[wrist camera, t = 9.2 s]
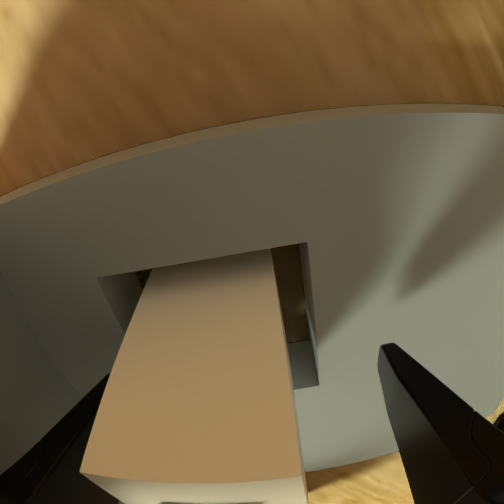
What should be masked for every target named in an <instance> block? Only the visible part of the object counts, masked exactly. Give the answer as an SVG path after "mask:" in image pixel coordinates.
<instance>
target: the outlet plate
mask: <svg viewBox="0 0 504 504" xmlns="http://www.w3.org/2000/svg"><path fill="white" fill-rule="evenodd" d="M298 243H299V249H300V257H301V265H302V274H303V282H304V291H305V301H306V310H307V320H308V330H309V340H306V341H301V342H295V343H289V344H287V347H288V354H289V361H290V368H291V375H292V382H293V389H294V396H295V403H296V410H297V417H298V425H299V432H300V440H301V447H302V455H303V462H304V470H305V472H311V471H317V470H322V469H328V468H333V467H338V466H343V465H347V464H352V463H356V462H360V461H364V460H368V459H372V458H376V457H380V456H383V455H387V454H390V453H394V452H397V451H399V449H398V446H397V443H396V439H395V436H394V433H393V430H392V427H391V424H390V421H389V418H388V415H387V410H386V406H385V401H384V396H383V391H382V387H381V382H380V378H379V373H378V368H377V362H378V355H379V348H380V346H381V345H382V344H386V343H391V342H393V343H396V344H397V345H398V346H399V347H400V348H402V349H403V350H404V351H405V352H407V353H408V354H409V355H410V356H411V357H413V358H414V359H415V360H416V361H417V362H419V363H420V364H421V365H422V366H423V367H425V368H426V369H427V370H428V371H429V372H431V373H432V374H433V375H434V376H435V377H437V378H438V379H439V380H440V381H441V382H443V383H444V384H445V385H446V386H447V387H449V388H450V389H451V390H452V391H453V392H454V393H456V394H457V395H458V396H459V397H460V398H462V399H463V400H464V401H465V402H466V403H467V404H469V405H470V406H471V407H472V408H473V409H474V411H477V412H478V413H479V414H481V415H482V416H483V417H484V418H485V417H487V416H489V415H491V414H493V413H494V412H495V410H496V409H497V407H498V406H499V404H500V402H501V401H502V399H503V398H504V106H491V105H474V104H440V103H424V104H388V105H370V106H356V107H344V108H333V109H323V110H315V111H306V112H299V113H291V114H284V115H277V116H271V117H265V118H259V119H253V120H247V121H242V122H237V123H231V124H226V125H221V126H217V127H212V128H207V129H203V130H198V131H194V132H190V133H185V134H181V135H177V136H173V137H169V138H165V139H161V140H158V141H154V142H150V143H147V144H143V145H139V146H136V147H133V148H129V149H126V150H122V151H119V152H116V153H113V154H110V155H106V156H103V157H100V158H97V159H94V160H91V161H88V162H85V163H82V164H80V165H77V166H74V167H71V168H68V169H66V170H63V171H60V172H58V173H55V174H52V175H50V176H47V177H45V178H42V179H40V180H37V181H35V182H32V183H30V184H27V185H25V186H23V187H20V188H18V189H16V190H13V191H11V192H9V193H7V194H4V195H2V196H0V475H1V474H2V473H3V472H5V471H6V470H7V469H8V468H9V467H11V466H12V465H13V464H14V463H15V462H17V461H18V460H19V459H20V458H21V457H22V456H24V455H25V454H26V453H27V452H28V451H29V450H30V449H31V448H32V447H33V446H34V445H35V444H36V443H37V442H38V441H40V439H41V438H42V437H43V436H44V435H45V434H46V433H47V432H48V431H49V430H50V429H51V428H52V427H53V426H55V425H56V424H57V423H58V422H59V421H60V420H61V419H62V418H63V417H64V416H65V415H66V414H67V413H68V412H69V411H70V410H71V409H72V408H73V407H74V406H75V405H76V404H77V403H78V402H79V401H80V400H81V399H82V398H83V397H84V396H85V395H86V394H87V393H88V392H89V391H90V390H91V389H92V388H93V387H94V386H95V385H97V384H98V383H99V382H100V381H101V380H102V379H103V378H104V377H105V376H106V375H107V374H108V373H111V371H112V368H113V365H114V363H115V360H116V357H117V355H118V352H119V349H120V347H121V344H122V341H123V339H124V336H125V334H126V331H127V329H128V326H129V324H130V321H131V319H132V316H133V314H134V311H135V309H136V306H137V304H138V301H139V299H140V297H141V294H142V292H143V289H142V287H141V285H140V282H139V280H138V277H137V275H136V272H135V271H140V270H146V269H152V268H158V267H164V266H169V265H175V264H181V263H187V262H193V261H199V260H204V259H210V258H216V257H222V256H228V255H234V254H240V253H245V252H251V251H257V250H263V249H269V248H275V247H281V246H286V245H292V244H298ZM119 504H125V503H123V502H122V501H120V500H119Z"/></svg>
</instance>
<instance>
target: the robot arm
mask: <svg viewBox="0 0 504 504" xmlns="http://www.w3.org/2000/svg"><path fill="white" fill-rule="evenodd" d="M377 368H378V373H379V378H380V382H381V387H382V391H383V396H384V401H385V406H386V410H387V415H388V418H389V421H390V424H391V427H392V430H393V433H394V436H395V439H396V443H397V446H398V449H399V452H400V455H401V458H402V462H403V465H404V468H405V472H406V475H407V478H408V482H409V485H410V489H411V492H412V496H413V499H414V503H415V504H504V415H503V416H501V417H500V418H499V419H498V420H497V421H496V423H495V424H494V425H493V424H492V423H490V422H489V421H488V420H487V419H485V418H484V417H483V416H482V415H481V414H479V413H478V412H477V411H474V409H473V408H472V407H471V406H470V405H469V404H467V403H466V402H465V401H464V400H463V399H462V398H460V397H459V396H458V395H457V394H456V393H454V392H453V391H452V390H451V389H450V388H449V387H447V386H446V385H445V384H444V383H443V382H441V381H440V380H439V379H438V378H437V377H435V376H434V375H433V374H432V373H431V372H429V371H428V370H427V369H426V368H425V367H423V366H422V365H421V364H420V363H419V362H417V361H416V360H415V359H414V358H413V357H411V356H410V355H409V354H408V353H407V352H405V351H404V350H403V349H402V348H400V347H399V346H398V345H397V344H396V343H393V342H391V343H386V344H382V345H381V346H380V348H379V355H378V362H377ZM110 374H111V373H108V374H107V375H106V376H105V377H104V378H103V379H102V380H101V381H100V382H99V383H98V384H97V385H95V386H94V387H93V388H92V389H91V390H90V391H89V392H88V393H87V394H86V395H85V396H84V397H83V398H82V399H81V400H80V401H79V402H78V403H77V404H76V405H75V406H74V407H73V408H72V409H71V410H70V411H69V412H68V413H67V414H66V415H65V416H64V417H63V418H62V419H61V420H60V421H59V422H58V423H57V424H56V425H55V426H53V427H52V428H51V429H50V430H49V431H48V432H47V433H46V434H45V435H44V436H43V437H42V438H41V439H40V441H38V442H37V443H36V444H35V445H34V446H33V447H32V448H31V449H30V450H29V451H28V452H27V453H26V454H25V455H24V456H22V457H21V458H20V459H19V460H18V461H17V462H15V463H14V464H13V465H12V466H11V467H9V468H8V469H7V470H6V471H5V472H3V473H2V474H1V475H0V504H119V499H117V498H116V497H114V496H112V495H111V494H109V493H108V492H106V491H105V490H104V489H102V488H101V487H99V486H98V485H96V484H95V483H94V482H92V481H91V480H89V479H88V478H87V477H85V476H84V475H83V474H81V473H80V468H81V464H82V461H83V457H84V454H85V450H86V447H87V443H88V440H89V437H90V434H91V430H92V427H93V424H94V421H95V418H96V415H97V412H98V408H99V405H100V402H101V399H102V397H103V394H104V391H105V388H106V385H107V382H108V379H109V376H110Z"/></svg>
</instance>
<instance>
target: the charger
mask: <svg viewBox="0 0 504 504" xmlns="http://www.w3.org/2000/svg"><path fill="white" fill-rule="evenodd" d="M80 473H81V474H83V475H84V476H85V477H87V478H88V479H89V480H91V481H92V482H94V483H95V484H96V485H98V486H99V487H101V488H102V489H104V490H105V491H106V492H108V493H109V494H111V495H112V496H114V497H116V498H117V499H119V500H120V501H122V502H123V503H125V504H309V503H308V494H307V486H306V478H305V470H304V462H303V455H302V447H301V440H300V432H299V425H298V417H297V410H296V403H295V396H294V389H293V382H292V375H291V368H290V361H289V354H288V347H287V341H286V334H285V327H284V321H283V315H282V310H281V304H280V298H279V292H278V287H277V281H276V275H275V270H274V264H273V258H272V253H271V248H269V249H263V250H257V251H251V252H245V253H240V254H234V255H228V256H222V257H216V258H210V259H204V260H199V261H193V262H187V263H181V264H175V265H169V266H164V267H158V268H153V269H152V271H151V273H150V276H149V278H148V280H147V283H146V285H145V287H144V290H143V292H142V294H141V297H140V299H139V301H138V304H137V306H136V309H135V311H134V314H133V316H132V319H131V321H130V324H129V326H128V329H127V331H126V334H125V336H124V339H123V341H122V344H121V347H120V349H119V352H118V355H117V357H116V360H115V363H114V365H113V368H112V371H111V374H110V376H109V379H108V382H107V385H106V388H105V391H104V394H103V397H102V399H101V402H100V405H99V408H98V412H97V415H96V418H95V421H94V424H93V427H92V430H91V434H90V437H89V440H88V443H87V447H86V450H85V454H84V457H83V461H82V464H81V468H80Z"/></svg>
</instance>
